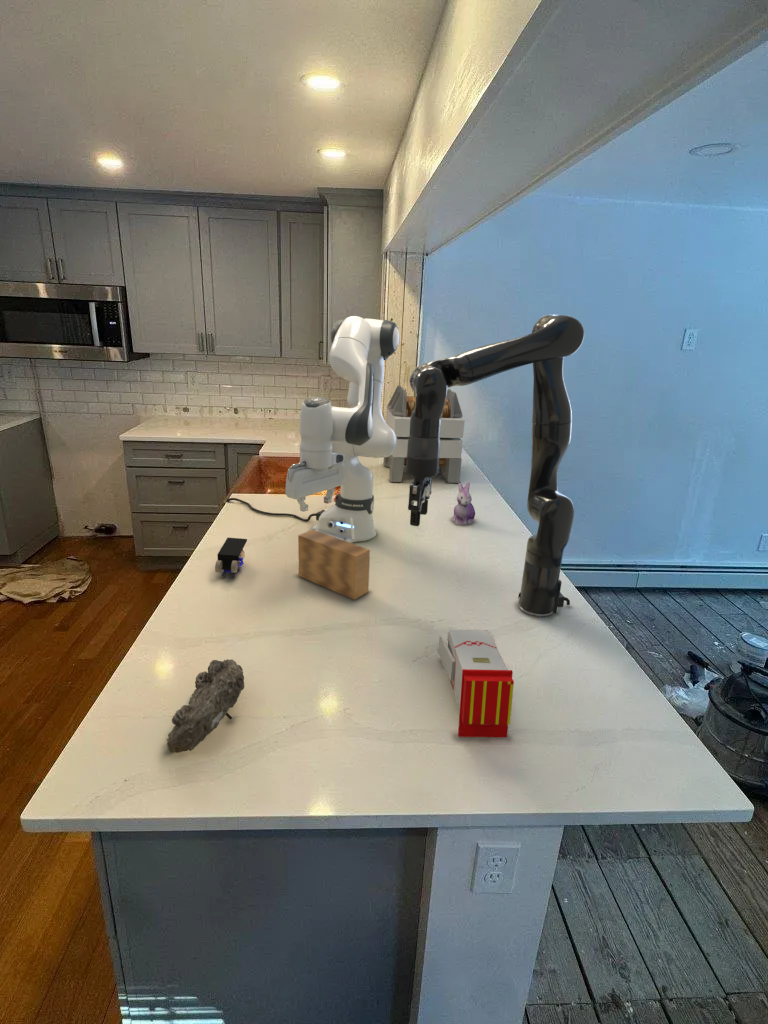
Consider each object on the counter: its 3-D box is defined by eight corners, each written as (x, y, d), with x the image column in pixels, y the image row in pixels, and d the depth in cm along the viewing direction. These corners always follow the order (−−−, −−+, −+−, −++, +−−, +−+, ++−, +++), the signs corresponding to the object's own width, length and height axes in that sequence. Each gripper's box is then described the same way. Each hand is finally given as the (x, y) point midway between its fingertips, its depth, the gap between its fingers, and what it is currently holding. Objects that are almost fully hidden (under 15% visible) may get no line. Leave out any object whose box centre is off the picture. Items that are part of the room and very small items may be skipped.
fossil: (192, 660, 117) (244, 628, 112) (224, 691, 120) (276, 661, 115) (142, 746, 98) (202, 712, 93) (182, 779, 101) (242, 748, 96)
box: (298, 576, 166) (298, 535, 161) (312, 569, 170) (312, 529, 166) (354, 599, 154) (355, 556, 149) (368, 592, 158) (370, 549, 154)
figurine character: (238, 584, 162) (249, 557, 175) (236, 562, 158) (247, 536, 172) (215, 584, 161) (227, 556, 175) (212, 561, 158) (225, 535, 171)
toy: (488, 613, 130) (523, 677, 101) (484, 667, 133) (517, 744, 104) (435, 612, 130) (455, 676, 101) (432, 666, 133) (451, 743, 103)
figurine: (461, 527, 208) (464, 488, 203) (445, 518, 216) (448, 480, 211) (481, 524, 212) (485, 485, 207) (466, 515, 221) (469, 478, 216)
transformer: (382, 463, 289) (386, 382, 275) (445, 464, 293) (451, 384, 279) (390, 482, 257) (394, 392, 243) (460, 483, 261) (468, 394, 247)
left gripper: (296, 467, 144) (297, 518, 148) (349, 454, 159) (348, 501, 164) (279, 463, 147) (280, 513, 152) (332, 450, 163) (332, 496, 167)
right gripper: (433, 463, 124) (427, 532, 129) (444, 449, 137) (439, 512, 142) (399, 459, 126) (396, 527, 131) (414, 446, 139) (410, 508, 144)
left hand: (316, 506), depth 158 cm, fingers open, 8 cm apart
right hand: (418, 519), depth 137 cm, fingers open, 8 cm apart
